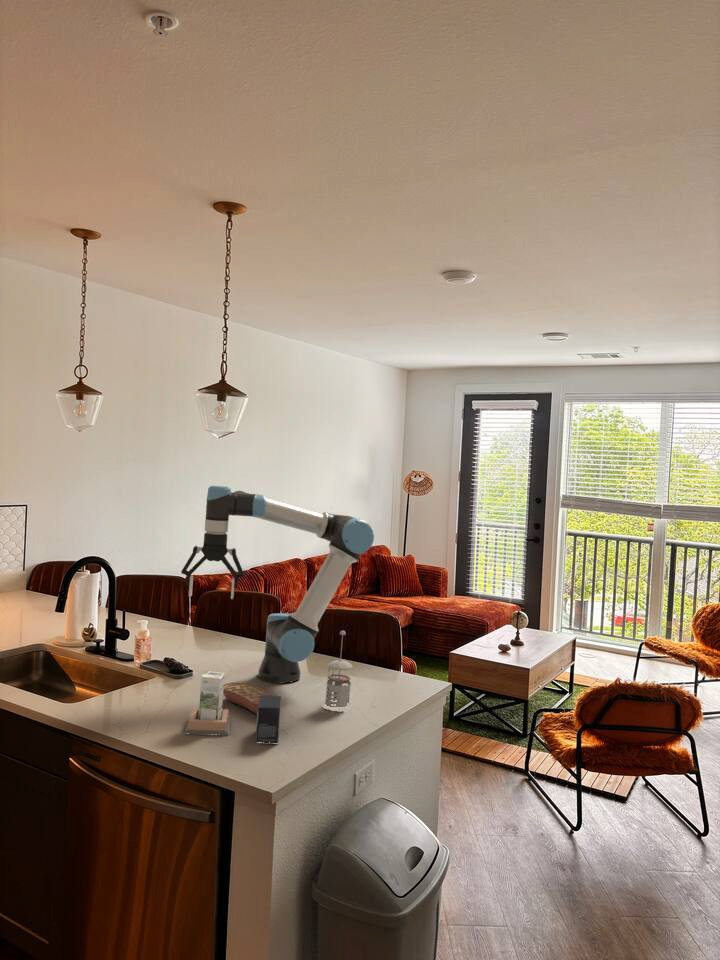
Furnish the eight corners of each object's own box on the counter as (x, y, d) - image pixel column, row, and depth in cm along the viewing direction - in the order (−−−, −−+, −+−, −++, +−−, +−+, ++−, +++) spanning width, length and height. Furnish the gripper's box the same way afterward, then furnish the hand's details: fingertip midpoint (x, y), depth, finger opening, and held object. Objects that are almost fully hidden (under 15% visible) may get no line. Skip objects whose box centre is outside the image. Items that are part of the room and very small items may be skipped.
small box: (256, 729, 209) (259, 693, 209) (279, 730, 210) (282, 695, 210) (254, 744, 199) (257, 706, 199) (278, 745, 199) (281, 707, 199)
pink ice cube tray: (216, 700, 232) (217, 685, 232) (241, 695, 239) (242, 680, 239) (259, 722, 216) (260, 705, 216) (285, 715, 223) (286, 699, 223)
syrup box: (221, 721, 211) (225, 671, 211) (217, 728, 205) (220, 677, 205) (202, 719, 211) (206, 670, 211) (197, 726, 205) (201, 676, 205)
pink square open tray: (230, 720, 215) (231, 708, 215) (228, 735, 203) (228, 723, 203) (189, 719, 213) (190, 707, 213) (184, 734, 202) (185, 721, 202)
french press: (329, 713, 228) (335, 635, 227) (314, 701, 238) (320, 626, 237) (357, 711, 232) (363, 633, 232) (341, 699, 242) (347, 625, 242)
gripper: (254, 534, 243) (249, 596, 243) (178, 529, 240) (174, 592, 240) (253, 536, 235) (249, 601, 236) (175, 531, 232) (171, 596, 233)
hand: (211, 596), depth 238 cm, fingers open, 13 cm apart
